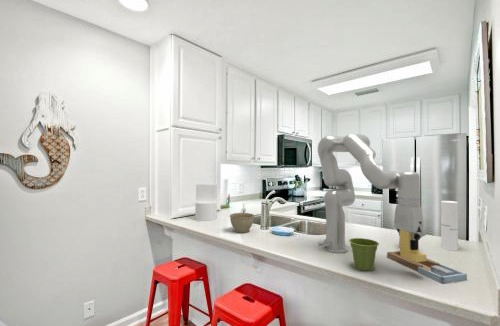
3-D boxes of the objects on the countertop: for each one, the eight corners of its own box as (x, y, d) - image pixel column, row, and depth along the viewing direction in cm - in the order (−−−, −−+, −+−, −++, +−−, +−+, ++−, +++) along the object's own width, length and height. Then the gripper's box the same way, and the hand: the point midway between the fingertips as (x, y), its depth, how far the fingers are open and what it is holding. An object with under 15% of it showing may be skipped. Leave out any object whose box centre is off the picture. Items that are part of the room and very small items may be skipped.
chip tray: (442, 286, 92) (442, 277, 92) (417, 274, 102) (417, 266, 102) (466, 282, 95) (466, 274, 95) (440, 271, 105) (440, 263, 105)
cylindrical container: (442, 245, 140) (442, 200, 140) (458, 248, 134) (458, 201, 135) (439, 248, 135) (439, 201, 135) (457, 251, 129) (457, 203, 130)
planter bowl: (256, 233, 161) (256, 217, 162) (230, 234, 159) (230, 217, 159) (251, 227, 177) (251, 212, 177) (229, 228, 175) (229, 212, 175)
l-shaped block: (415, 262, 96) (415, 233, 96) (400, 255, 103) (399, 228, 103) (426, 261, 97) (426, 232, 97) (410, 254, 104) (410, 228, 104)
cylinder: (199, 216, 215) (199, 183, 215) (218, 216, 213) (219, 183, 214) (192, 220, 198) (192, 185, 198) (214, 221, 196) (214, 185, 196)
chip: (446, 281, 95) (446, 272, 95) (438, 277, 98) (438, 269, 98) (453, 280, 96) (453, 271, 96) (444, 276, 99) (444, 268, 99)
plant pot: (382, 267, 109) (382, 241, 109) (373, 276, 101) (373, 248, 101) (355, 260, 117) (355, 236, 118) (344, 267, 109) (344, 241, 109)
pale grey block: (438, 277, 98) (438, 269, 98) (430, 274, 101) (430, 266, 101) (444, 276, 99) (444, 268, 99) (436, 273, 102) (436, 265, 102)
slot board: (418, 274, 102) (418, 265, 102) (387, 259, 118) (387, 252, 118) (439, 271, 105) (439, 263, 105) (405, 257, 121) (405, 250, 121)
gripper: (385, 200, 109) (385, 242, 109) (420, 206, 93) (420, 255, 93) (399, 199, 111) (399, 241, 111) (435, 205, 95) (436, 254, 94)
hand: (409, 247), depth 102 cm, fingers closed on l-shaped block, 4 cm apart
